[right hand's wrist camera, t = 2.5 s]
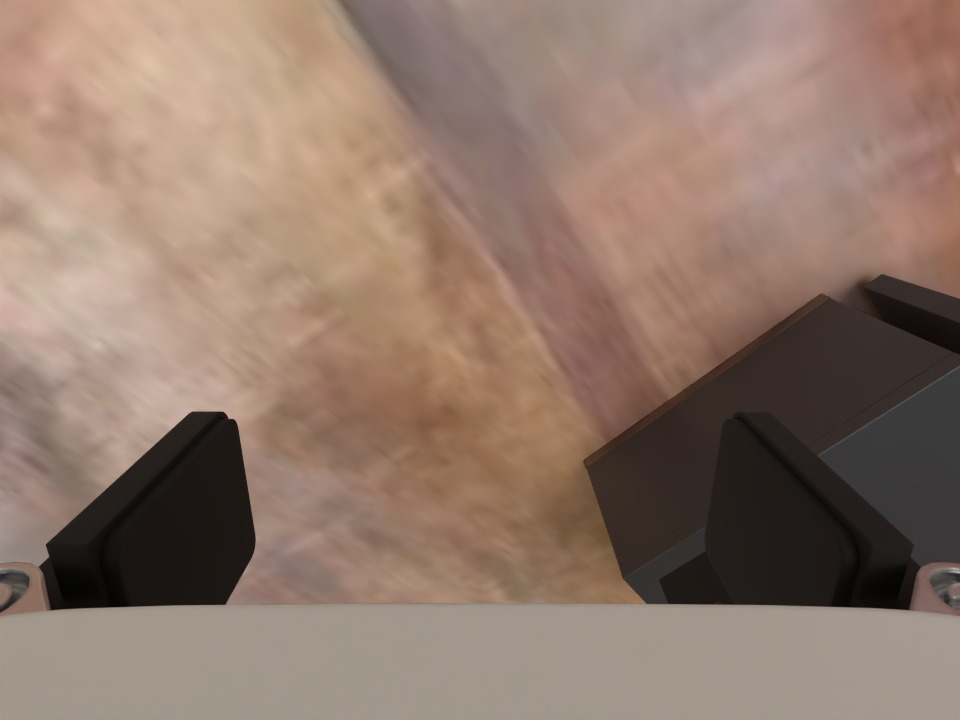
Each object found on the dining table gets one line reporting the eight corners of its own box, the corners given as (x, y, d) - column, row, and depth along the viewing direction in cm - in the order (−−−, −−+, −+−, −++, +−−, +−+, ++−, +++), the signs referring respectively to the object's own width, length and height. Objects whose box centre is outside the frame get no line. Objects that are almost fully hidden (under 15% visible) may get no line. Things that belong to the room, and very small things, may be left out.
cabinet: (821, 293, 34) (970, 358, 24) (906, 424, 37) (1071, 532, 27) (583, 460, 38) (622, 578, 28) (677, 566, 41) (744, 709, 30)
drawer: (982, 203, 31) (1172, 225, 23) (1052, 337, 34) (1245, 402, 25) (644, 438, 36) (695, 528, 28) (727, 538, 39) (798, 650, 30)
